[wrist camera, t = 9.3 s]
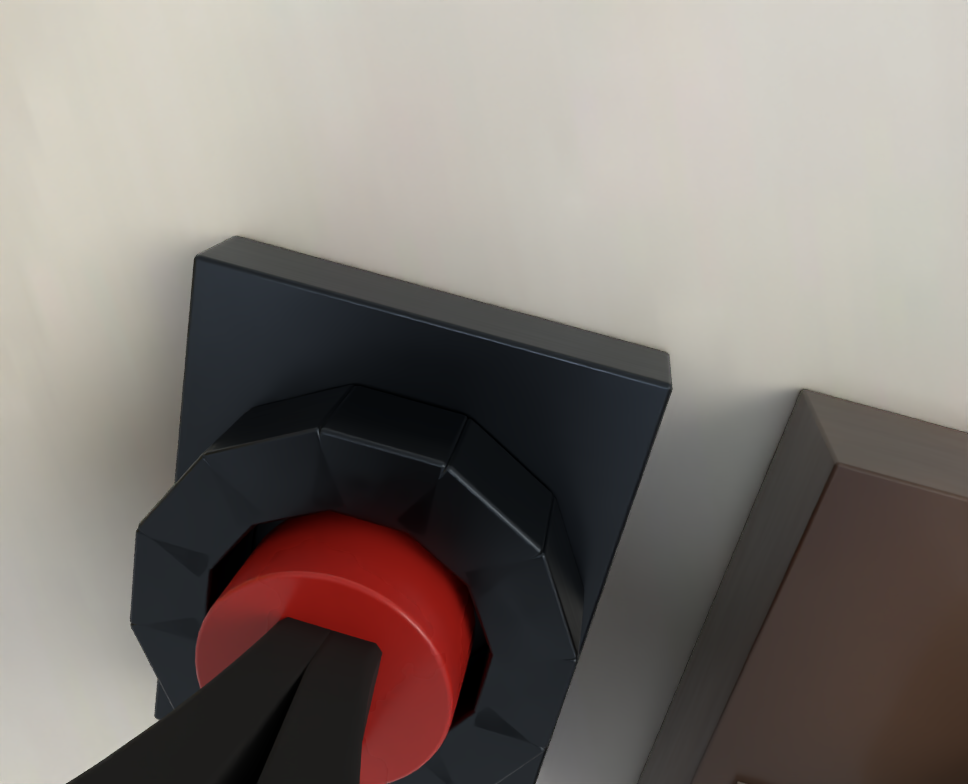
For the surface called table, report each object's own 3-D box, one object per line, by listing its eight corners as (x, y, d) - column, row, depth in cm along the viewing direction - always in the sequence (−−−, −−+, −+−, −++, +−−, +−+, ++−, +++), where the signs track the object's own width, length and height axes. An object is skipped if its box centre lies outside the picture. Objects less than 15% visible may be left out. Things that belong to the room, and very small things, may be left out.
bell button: (260, 475, 12) (204, 539, 11) (500, 545, 12) (479, 620, 11) (234, 664, 14) (182, 746, 12) (449, 729, 14) (424, 821, 12)
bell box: (234, 233, 13) (131, 284, 11) (671, 351, 13) (679, 435, 10) (188, 668, 17) (102, 788, 14) (527, 772, 17) (505, 917, 14)
